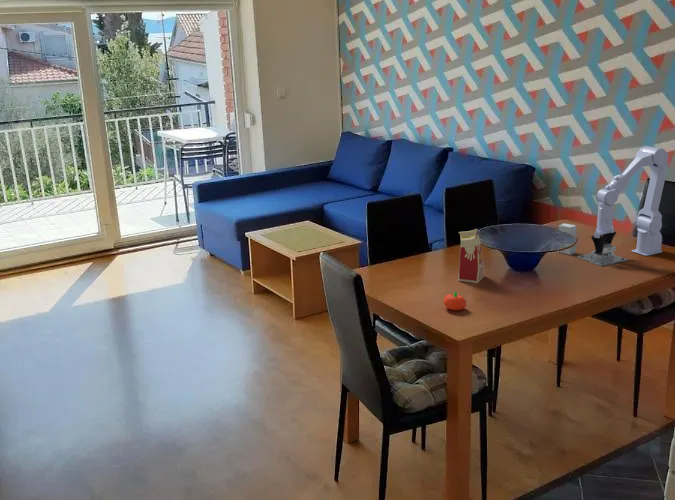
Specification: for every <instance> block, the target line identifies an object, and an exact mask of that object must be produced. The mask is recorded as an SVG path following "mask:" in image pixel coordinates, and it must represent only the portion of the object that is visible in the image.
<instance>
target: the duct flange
mask: <svg viewBox="0 0 675 500" xmlns="http://www.w3.org/2000/svg"><path fill="white" fill-rule="evenodd" d="M576 258H577V259H581V260H583V261H586V262H589V263H592V264H595V265H597V266H600V267H605V266H610V265H615V264H619V263H623V262H628V261H629V259H628V258H626V257H622V256H620V255H617V254H615V252H610V255H607V256H602V255H597V253H596V250H591V252H590V253H585V254H581V255H576Z"/></svg>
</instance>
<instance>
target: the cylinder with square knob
mask: <svg viewBox="0 0 675 500" xmlns="http://www.w3.org/2000/svg"><path fill="white" fill-rule="evenodd" d="M610 252H613V253H615V252H616V245H612V244H611V245H610V243H607V242H605V243H604V246H603V251H602V253H601V254H599V253H597V255H602V256H607V255H610Z"/></svg>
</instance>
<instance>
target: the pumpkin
mask: <svg viewBox="0 0 675 500" xmlns="http://www.w3.org/2000/svg"><path fill="white" fill-rule="evenodd" d="M443 305H444V306H445V307H446V309H448V310H450V311H461V310H464V309H465V308H466V307H467V301H466V298H464V297H463V296H462V295H459V294H458V293H457V292H456V291H454V294H452V293H448V294H446V295H445V296H444V298H443Z"/></svg>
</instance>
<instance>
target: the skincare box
mask: <svg viewBox="0 0 675 500" xmlns="http://www.w3.org/2000/svg"><path fill="white" fill-rule="evenodd" d="M577 227H578V226H577V225H575V224H570V223H566V222H565V223H561V224H559V225H558V231H559V230H560V231H562V232H567V233H569V234H571V235H573V236H575V237H576V238H577ZM559 253H560V254H566V255H570V256H571V255H574V254H576V253H577V244H576V245H575V246H574V247H572V248H570V249H568V250H565V251H560V252H559Z"/></svg>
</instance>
